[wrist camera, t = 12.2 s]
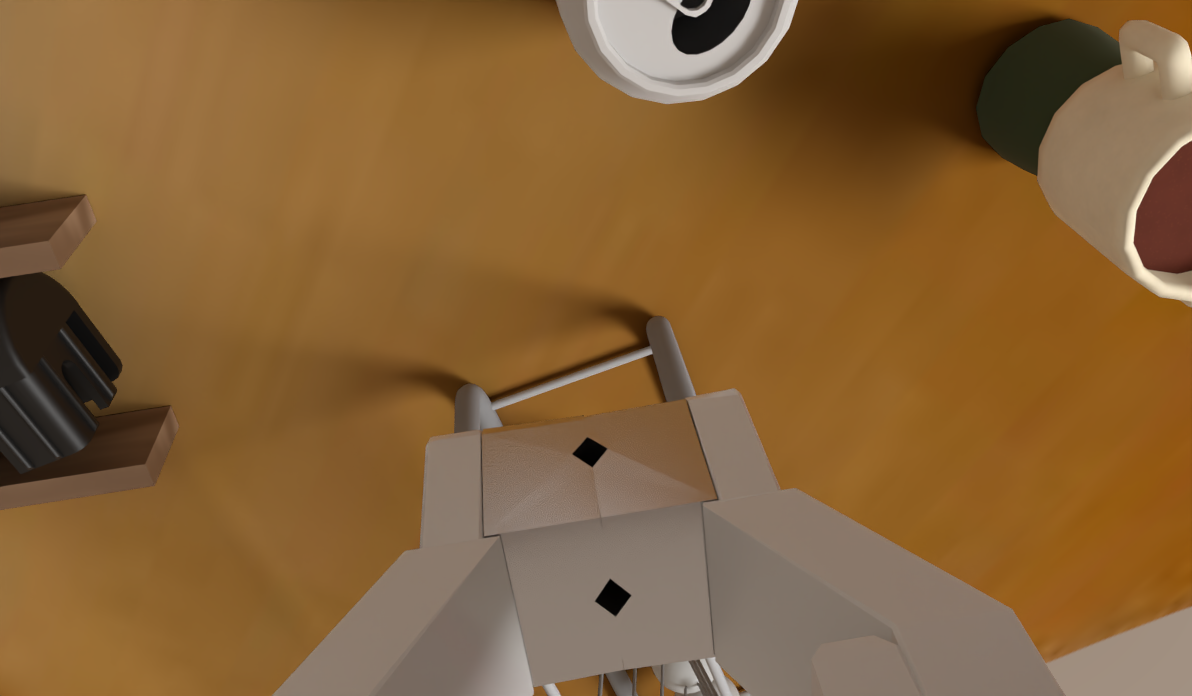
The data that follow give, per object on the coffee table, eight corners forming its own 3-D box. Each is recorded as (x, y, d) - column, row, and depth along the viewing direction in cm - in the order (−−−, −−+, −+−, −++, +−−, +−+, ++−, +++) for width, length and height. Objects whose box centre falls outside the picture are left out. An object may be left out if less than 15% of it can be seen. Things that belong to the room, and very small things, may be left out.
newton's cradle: (805, 693, 64) (910, 995, 49) (645, 745, 65) (699, 1056, 50) (659, 294, 49) (746, 554, 33) (451, 369, 49) (444, 655, 34)
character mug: (1136, 165, 48) (1339, 299, 36) (986, 225, 48) (1139, 375, 37) (1105, -68, 42) (1333, 7, 31) (936, 5, 43) (1099, 103, 32)
